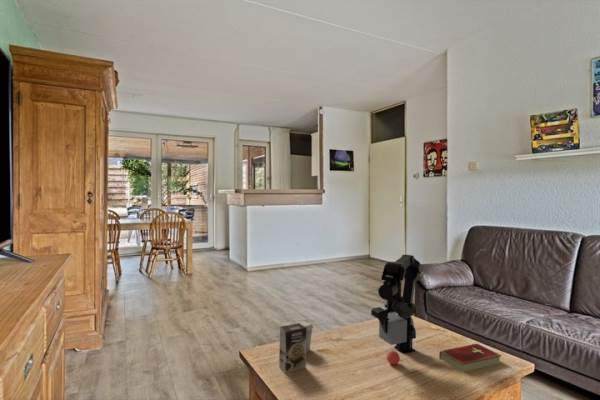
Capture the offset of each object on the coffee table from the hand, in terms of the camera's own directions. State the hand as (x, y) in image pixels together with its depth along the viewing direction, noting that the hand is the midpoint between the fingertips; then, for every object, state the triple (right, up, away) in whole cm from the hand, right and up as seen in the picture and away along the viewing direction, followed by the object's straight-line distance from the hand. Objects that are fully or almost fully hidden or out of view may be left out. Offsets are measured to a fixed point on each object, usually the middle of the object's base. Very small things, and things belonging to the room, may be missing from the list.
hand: (393, 331), depth 136 cm
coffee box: (-41, -13, -4) cm, 43 cm away
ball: (0, -11, 0) cm, 11 cm away
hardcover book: (+33, -14, +3) cm, 36 cm away
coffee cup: (-37, -13, +11) cm, 40 cm away
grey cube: (0, -3, +1) cm, 3 cm away
